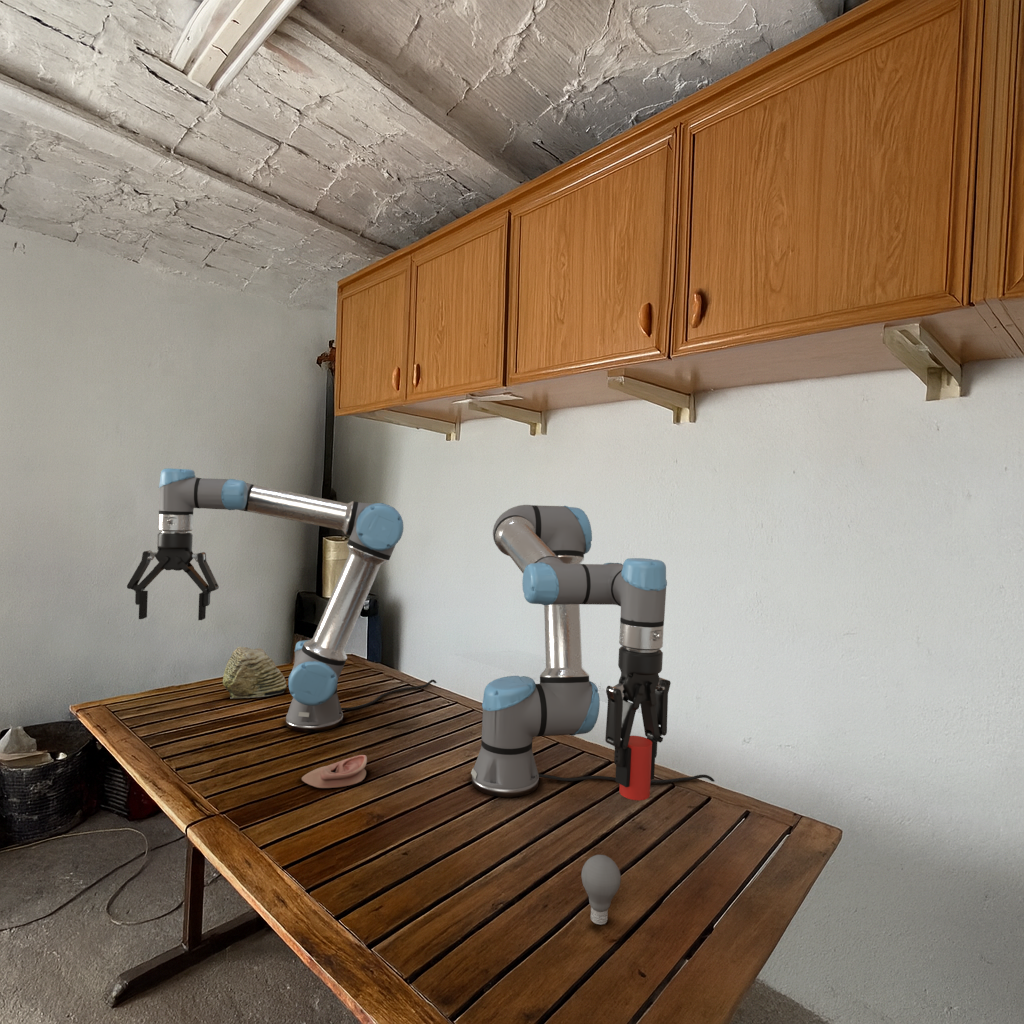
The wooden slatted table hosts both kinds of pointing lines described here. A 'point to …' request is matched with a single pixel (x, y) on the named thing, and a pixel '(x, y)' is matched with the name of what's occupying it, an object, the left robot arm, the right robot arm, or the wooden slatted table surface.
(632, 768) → the cylinder
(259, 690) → the fossil
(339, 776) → the anatomical model
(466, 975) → the wooden slatted table surface
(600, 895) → the light bulb
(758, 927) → the wooden slatted table surface
